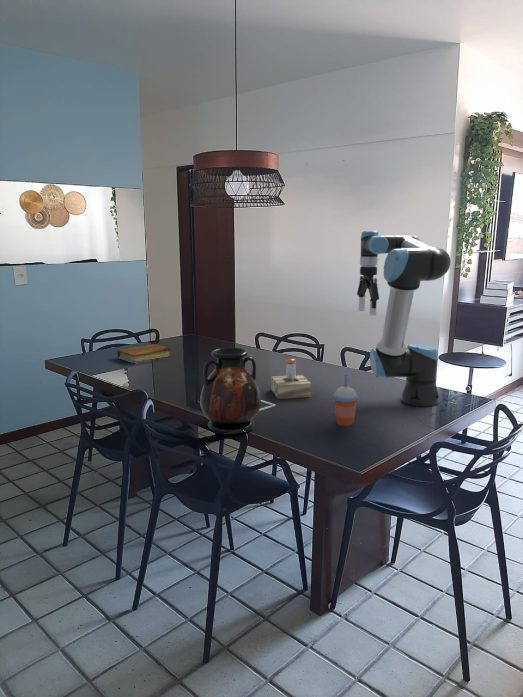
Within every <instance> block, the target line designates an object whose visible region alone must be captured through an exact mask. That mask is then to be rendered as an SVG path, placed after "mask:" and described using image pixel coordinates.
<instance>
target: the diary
mask: <svg viewBox="0 0 523 697" xmlns="http://www.w3.org/2000/svg"><path fill="white" fill-rule="evenodd" d="M171 350H172V349H171V347H167V346H164V345H159V344H156V343H150V344H145V345H140V346H139V345H138V346H134V347H129V348H122V349H118V350H117V351H116V352H117V355H116V356H117V358H118V357H119V356H121V357H124V358H127V359H129V360H132V361H135V362H137V361H142V360H149V359H155V358H161V357H168V356H171V354H170V351H171Z"/></svg>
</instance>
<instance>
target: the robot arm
mask: <svg viewBox="0 0 523 697" xmlns="http://www.w3.org/2000/svg"><path fill="white" fill-rule="evenodd" d="M383 254H387V255H386V257H385V260H384V264H383V277H384V280H385V281H386V283H387V285H388V287H390V289H389V295H388V300H387V307H386V314H385V318H384V323H383V330H382V336H381V340H379V341H378V342H377V343H376V347H375V348H372V349H370V350H369V352H370V353H369V361H370V362H369V364H370V368H371V370H372V374H373V375H374V376H375V377H376V378H380V379H383V378H384V379H387V378H405V383H404V386H403V389H402V392H401V393H400V401H401V402H402V403H404V404H407V405H410V406H417V407H433V406H436V405H439V403H440V393H439V390H438V388H437V370H438V368H437V367H438V361H439V359H438V350H437V349H436V348H435V347H432V346H430V345H426V344H420V343H408V345H405V339H406V334H407V329H408V324H409V319H410V315H411V314H410V313H411V307H412V303H413V298H414V292H415V291H416V290H418V289H419V288H420V285H421V282H428V281H436V280H438V279H440V278H442V277H444V276H445V275H446V274H447V273H448V271H449V269H450V267H451V264H452V263H451V257H450V254H449V253H448V252H447V251H446V250H445V249H443V248H441V247H439V246H430V245H428V244H426V243H425V242H422V241H421V239H420V237H419V236H418V235H412V234H408V235H379V232H378V231H377V230H365V231H362V232H361V235H360V260H359V265H360V268H359V274H360V277H359V283H358V288H357V293H356V295H357V296H358V312H365V311H366V310H365V309H366V307H365V306H366V293H367V290H368V293H369V297H370V299H369V316H376V315H377V301H378V300H380V295H379V289H378V279H377V277H374V276H377V274H378V267H377V266H378V261H379V258H378V256H379V255H383Z"/></svg>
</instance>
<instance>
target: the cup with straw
mask: <svg viewBox="0 0 523 697" xmlns="http://www.w3.org/2000/svg"><path fill="white" fill-rule="evenodd" d="M332 399H333V400H334V404H333V405H334V415H335V422H336V425H338V426H341V427H351V426H353V425H354V420H355V416H356V409H357V401H358V400H359V395H358V394H357V393H356V391H355V389H354V388H352V387H350V386H348V375H347V374H345V375H344V386H340V387H338V388H337V389H336V390H335V392H334V393H333V395H332Z"/></svg>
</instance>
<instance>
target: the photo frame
mask: <svg viewBox="0 0 523 697" xmlns="http://www.w3.org/2000/svg"><path fill="white" fill-rule="evenodd" d="M261 403H262V404H263V403H264V404H266V405H267V406H265V407H262V408H261V407H260V409H259V412H261V411H264V410H267V409H271V408H274V407H276V406H277V404H276V403H275V404H274V403H272V402H269V401H265V400H262V399H261Z"/></svg>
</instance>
